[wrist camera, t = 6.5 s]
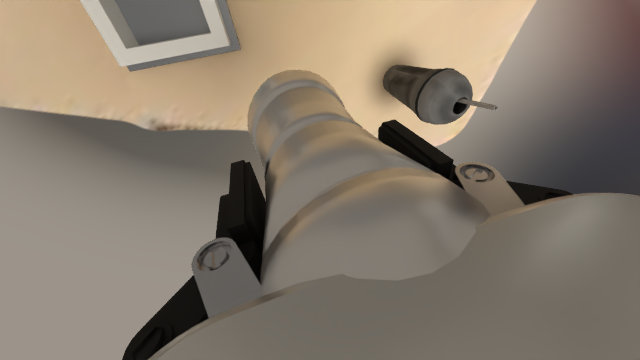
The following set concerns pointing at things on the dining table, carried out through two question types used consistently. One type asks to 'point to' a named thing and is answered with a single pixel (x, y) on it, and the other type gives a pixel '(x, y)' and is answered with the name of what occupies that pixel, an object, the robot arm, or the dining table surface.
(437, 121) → the beverage cup
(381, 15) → the dining table surface
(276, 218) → the plastic bottle
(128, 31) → the socket
